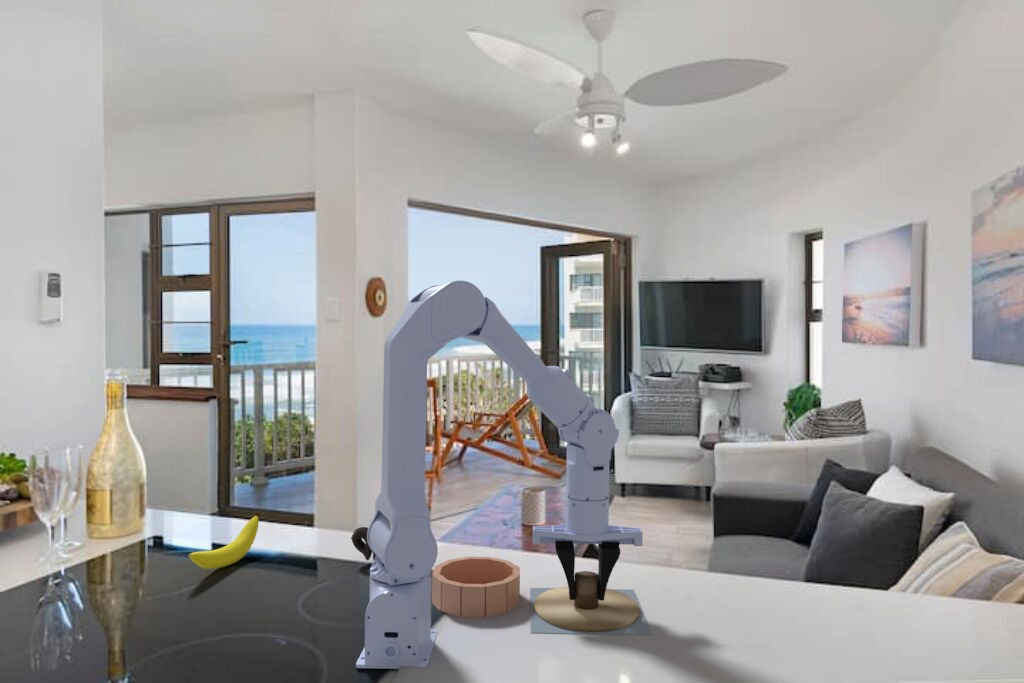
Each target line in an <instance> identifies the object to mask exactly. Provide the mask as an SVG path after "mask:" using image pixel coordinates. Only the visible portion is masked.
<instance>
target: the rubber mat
mask: <svg viewBox="0 0 1024 683" xmlns="http://www.w3.org/2000/svg"><path fill="white" fill-rule="evenodd" d="M555 588H556V587H529V597H530V598H529V600H530V602H529V603H530V605H529V606H530V610H529V611H530V634H539V635H541V634H545V635H548V634H552V635H556V634H557V635H592V636H593V635H595V636H596V635H599V636H603V635H604V636H605V635H606V636H643V637H644V636H647V637H650V636H651V637H652V636H653V632H652V629H651V628H650V625H649V623H648V620H647V617H646V616H645V613H644V611H643V608H642V606H641V605H640V601H639V599H638V597H637V594H636V592H635V590H634V589H624V588H623V589H621V588H620V589H619V588H615V589H614V588H611V590H614V591H618V592H620V593H623V594H625V595H627V596H629V597H631V598H632V599H633V600H635V601H636V603H637V604H638V606H639V617H638V619H637V620H636V621H635V622H634V623H633V624H631V625H629V626H627V627H625V628H621V629H618V630H613V631H606V632H582V631H573V630H568V629H563V628H560V627H556V626H554V625H551V624H549V623H547V622H545V621H543V620H542V619H541V618H539V617H538V616H537V615H536V613H535V611H534V601H535V599H536V598H537V597H538V596H539V595H540V594H542V593H544V592H546V591H548V590H551V589H555Z"/></svg>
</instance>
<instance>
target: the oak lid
mask: <svg viewBox="0 0 1024 683" xmlns="http://www.w3.org/2000/svg"><path fill="white" fill-rule="evenodd" d="M574 581H575V600H570V597H569V587H568V585H567V586H561V587H554V588H555V589H551V590H548V591H546V592H544V593H542V594H540V595H539V596H538V597H537V598H536V599H535V601H534V611H535V613H536V615H537V616H538V617H539V618H541V619H542V620H543V621H545V622H547V623H549V624H551V625H554V626H556V627H560V628H563V629H568V630H573V631H582V632H606V631H613V630H618V629H621V628H625V627H627V626H629V625H631V624H633V623H634V622H635V621H636V620H637V619H638V617H639V606H638V604H637V603H636V601H635V600H633V599H632V598H631V597H629V596H627V595H625V594H623V593H620V592H618V591H614V590H611V589H612V588H611V589H610V588H606V591H605V596H604V600H603V601H602V600H599V599H598V588H599V575H598V573H597V572H595V571H590V570H581V571H577V572H574Z"/></svg>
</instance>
